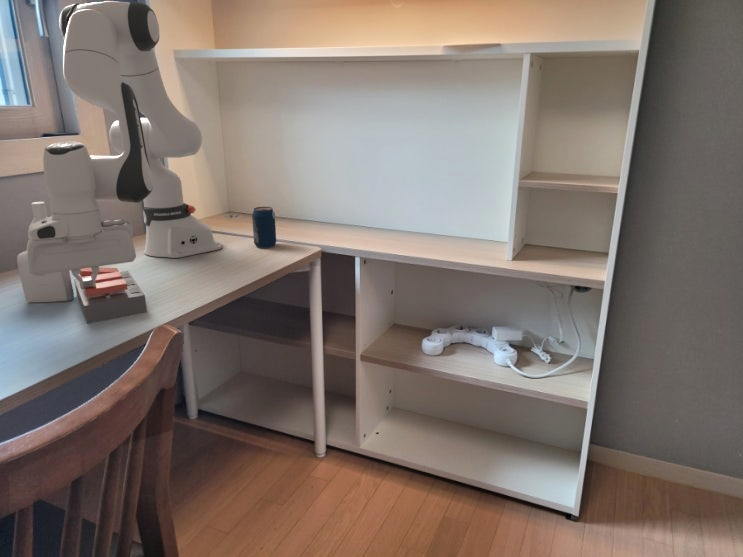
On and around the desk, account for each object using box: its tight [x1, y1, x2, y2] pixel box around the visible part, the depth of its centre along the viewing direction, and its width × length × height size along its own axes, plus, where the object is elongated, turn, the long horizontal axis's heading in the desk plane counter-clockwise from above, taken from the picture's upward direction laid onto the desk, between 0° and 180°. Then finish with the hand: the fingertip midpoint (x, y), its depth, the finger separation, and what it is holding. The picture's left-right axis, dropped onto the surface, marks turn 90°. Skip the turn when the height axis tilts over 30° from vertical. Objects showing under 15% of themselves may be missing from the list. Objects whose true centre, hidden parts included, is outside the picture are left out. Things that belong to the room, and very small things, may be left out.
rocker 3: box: [85, 279, 127, 297], centre depth 119 cm, size 8×4×1 cm, turn 123°
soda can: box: [251, 206, 277, 249], centre depth 170 cm, size 7×7×12 cm
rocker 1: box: [79, 266, 120, 277], centre depth 128 cm, size 8×4×1 cm, turn 123°
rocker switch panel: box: [73, 270, 148, 324], centre depth 125 cm, size 12×20×5 cm, turn 33°
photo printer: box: [16, 250, 75, 303], centre depth 125 cm, size 10×4×12 cm, turn 95°
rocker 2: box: [80, 271, 122, 283], centre depth 123 cm, size 8×4×1 cm, turn 123°
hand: (88, 287), depth 116 cm, fingers closed, pressing on rocker 3
